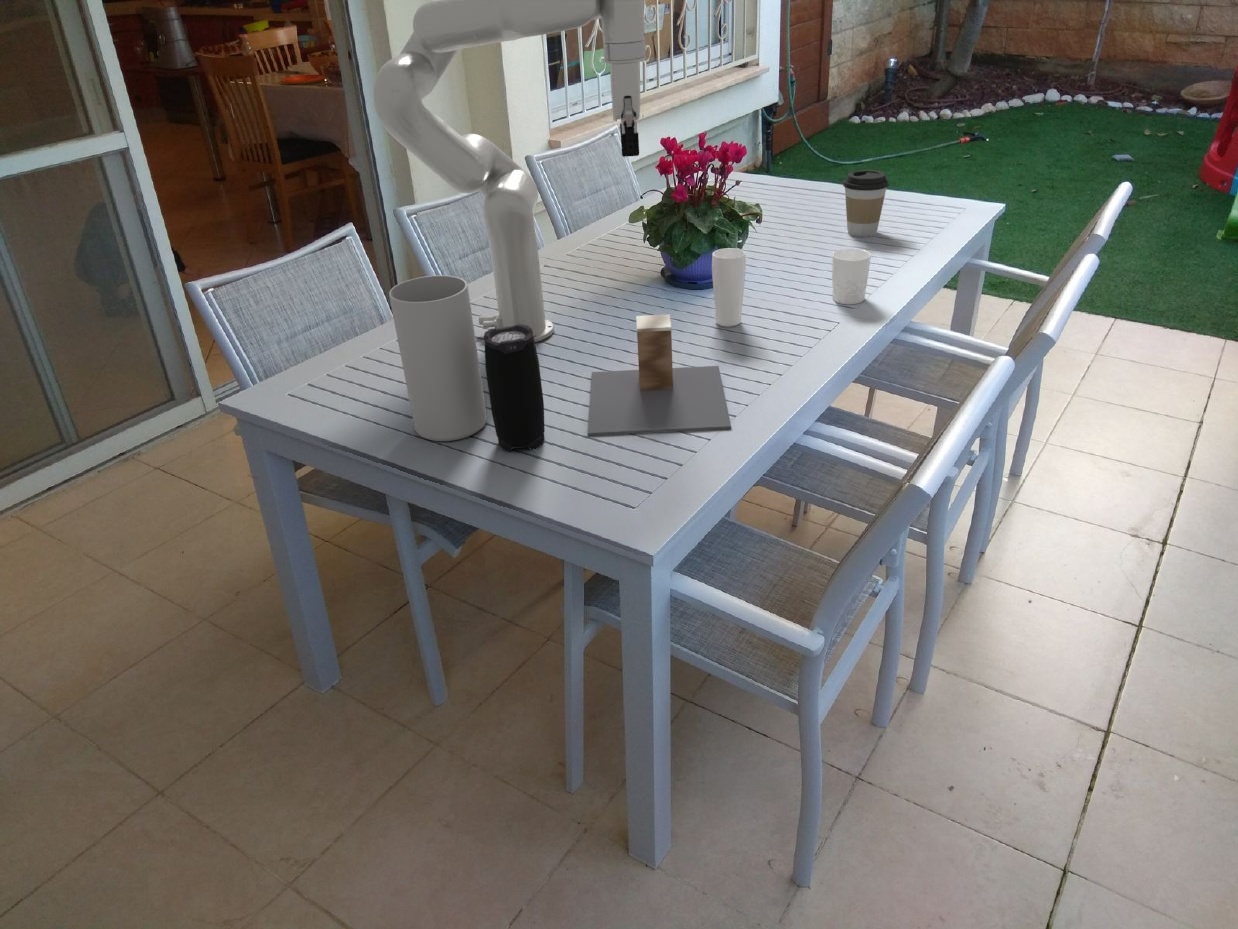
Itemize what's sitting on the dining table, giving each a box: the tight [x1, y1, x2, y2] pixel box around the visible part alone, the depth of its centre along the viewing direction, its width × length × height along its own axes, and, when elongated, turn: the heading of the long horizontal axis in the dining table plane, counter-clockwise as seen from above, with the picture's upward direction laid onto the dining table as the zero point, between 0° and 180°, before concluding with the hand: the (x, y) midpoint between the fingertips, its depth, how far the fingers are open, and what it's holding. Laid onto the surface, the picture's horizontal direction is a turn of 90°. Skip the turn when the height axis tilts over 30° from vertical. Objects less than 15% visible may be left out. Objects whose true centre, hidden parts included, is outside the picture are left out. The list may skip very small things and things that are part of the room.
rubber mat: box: [587, 365, 732, 437], centre depth 166 cm, size 24×24×1 cm
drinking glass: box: [711, 247, 747, 328], centre depth 191 cm, size 7×7×15 cm
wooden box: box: [636, 313, 673, 391], centre depth 168 cm, size 6×6×12 cm
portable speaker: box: [483, 324, 545, 452], centre depth 150 cm, size 9×9×20 cm
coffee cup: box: [842, 169, 890, 238], centre depth 238 cm, size 11×11×15 cm
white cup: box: [831, 248, 872, 305], centre depth 200 cm, size 8×8×10 cm
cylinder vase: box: [388, 274, 488, 442], centre depth 156 cm, size 12×12×25 cm
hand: (630, 149), depth 176 cm, fingers open, 9 cm apart
